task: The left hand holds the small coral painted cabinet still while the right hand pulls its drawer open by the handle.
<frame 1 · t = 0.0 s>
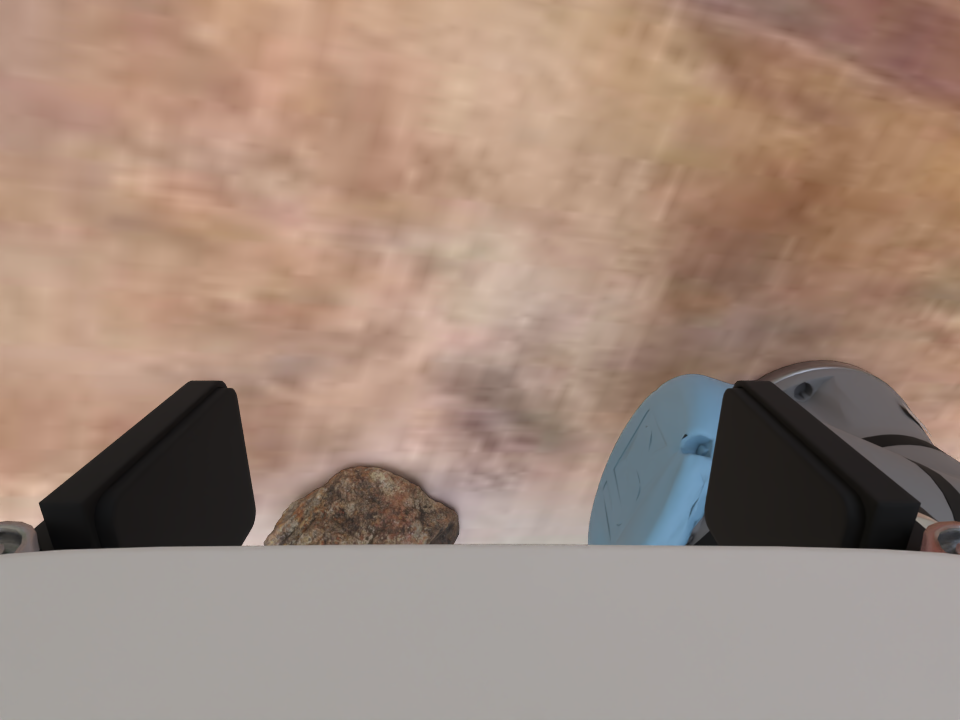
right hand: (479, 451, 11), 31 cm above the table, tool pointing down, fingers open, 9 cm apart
rock: (375, 513, 49), on the table
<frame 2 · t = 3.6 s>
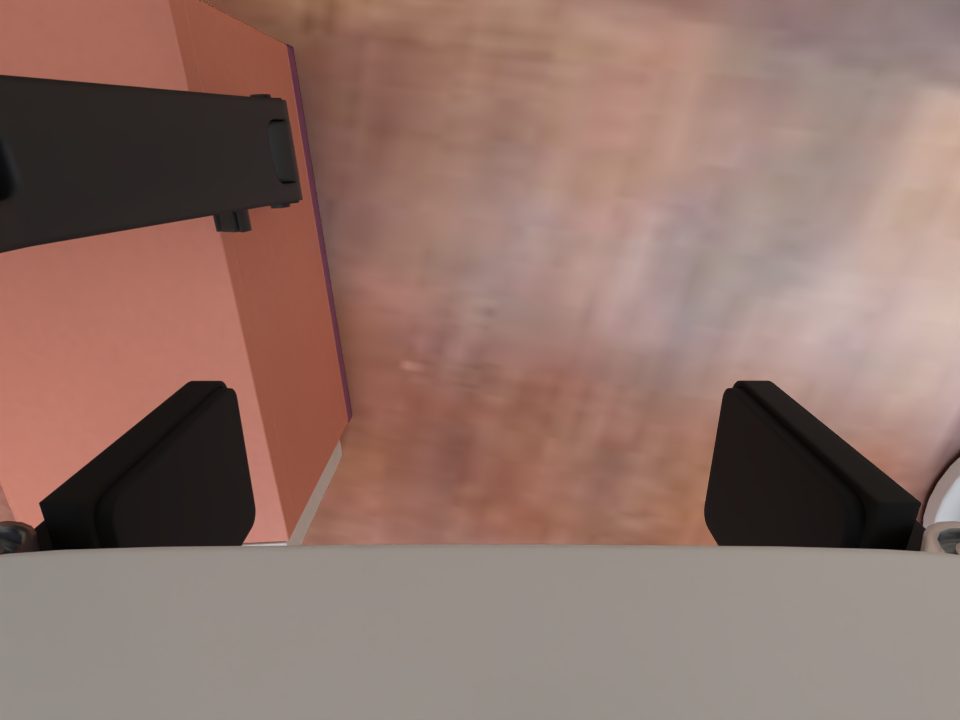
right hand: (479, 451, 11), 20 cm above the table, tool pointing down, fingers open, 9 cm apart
drawer: (201, 402, 26), point 6 cm above the table, slide at 0.8 cm
cabinet: (225, 258, 29), on the table, touching left hand
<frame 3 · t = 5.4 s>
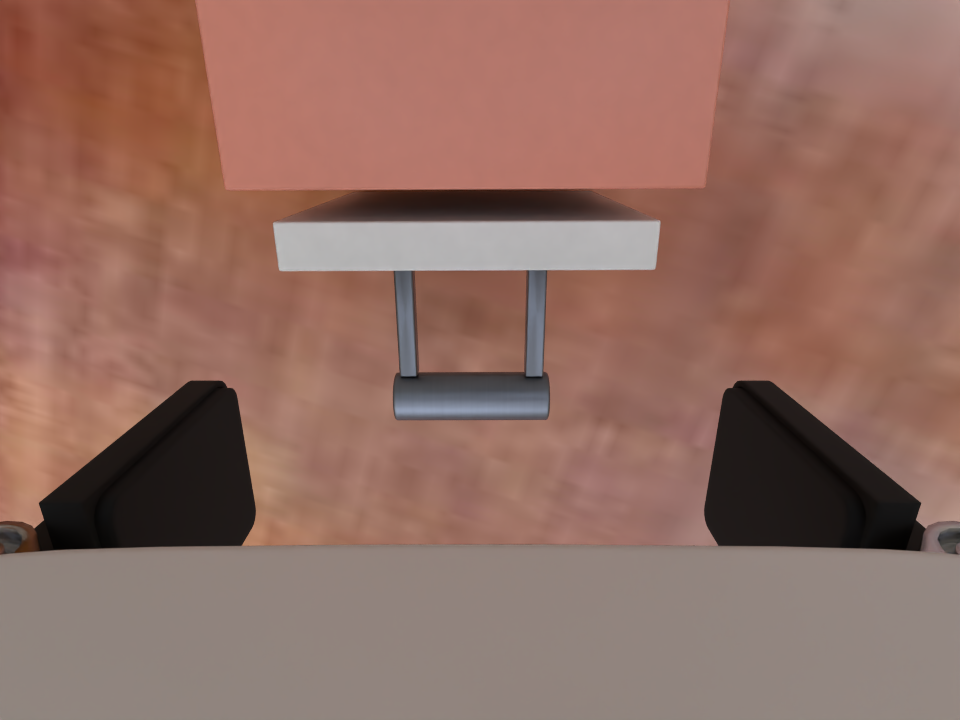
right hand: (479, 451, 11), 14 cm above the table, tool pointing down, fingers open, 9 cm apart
drawer: (468, 37, 16), point 6 cm above the table, slide at 0.8 cm
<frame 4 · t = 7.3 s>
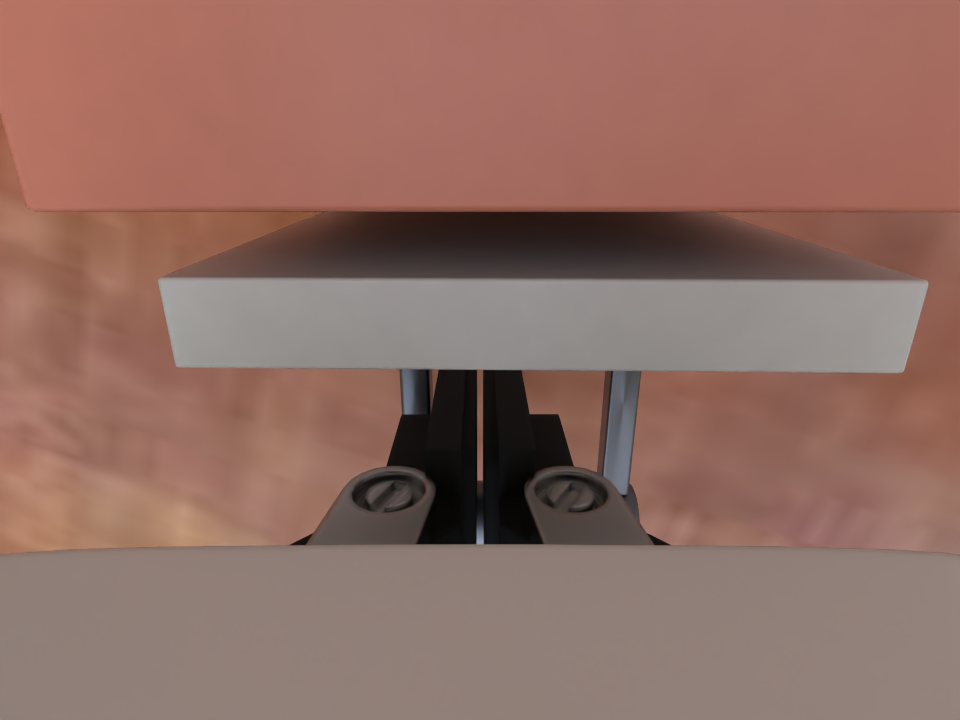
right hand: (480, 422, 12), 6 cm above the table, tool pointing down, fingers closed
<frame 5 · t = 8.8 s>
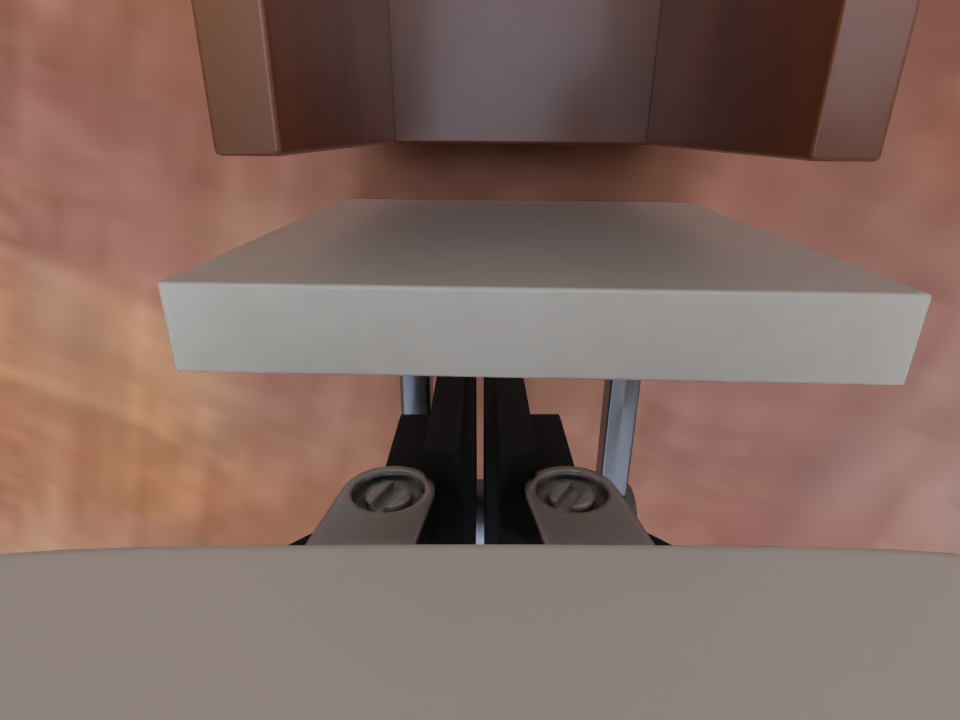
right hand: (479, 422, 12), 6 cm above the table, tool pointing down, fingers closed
when the left hand's fingers open (6 cm above the table, at t = 10.4 s): cabinet stays where it is, on the table.
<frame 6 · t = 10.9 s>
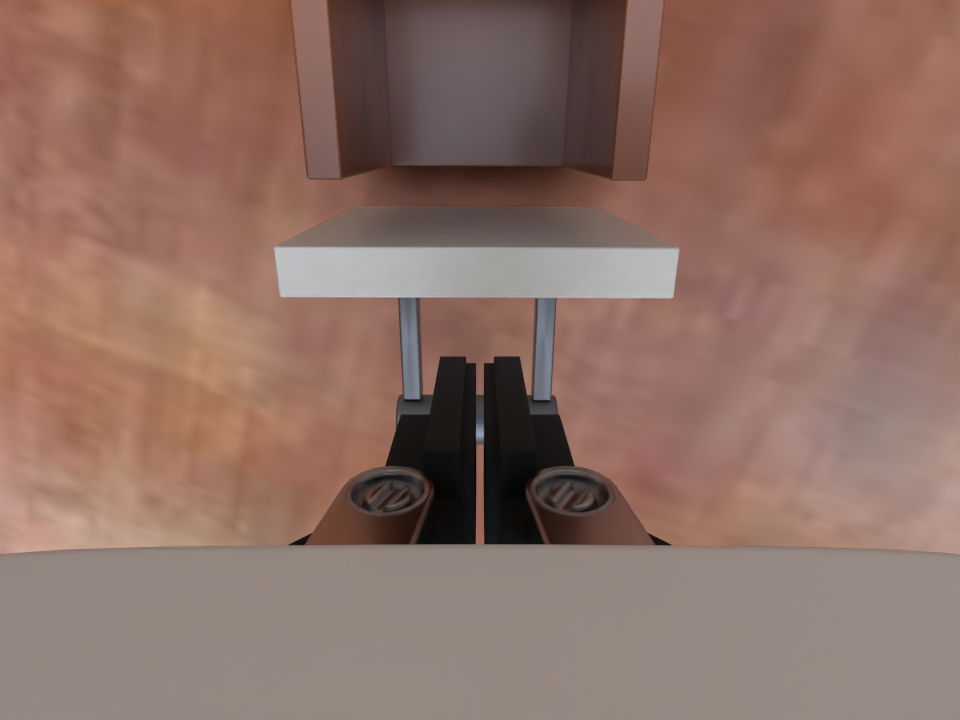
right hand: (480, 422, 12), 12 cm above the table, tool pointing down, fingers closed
drawer: (477, 51, 16), point 6 cm above the table, slide at 7.9 cm
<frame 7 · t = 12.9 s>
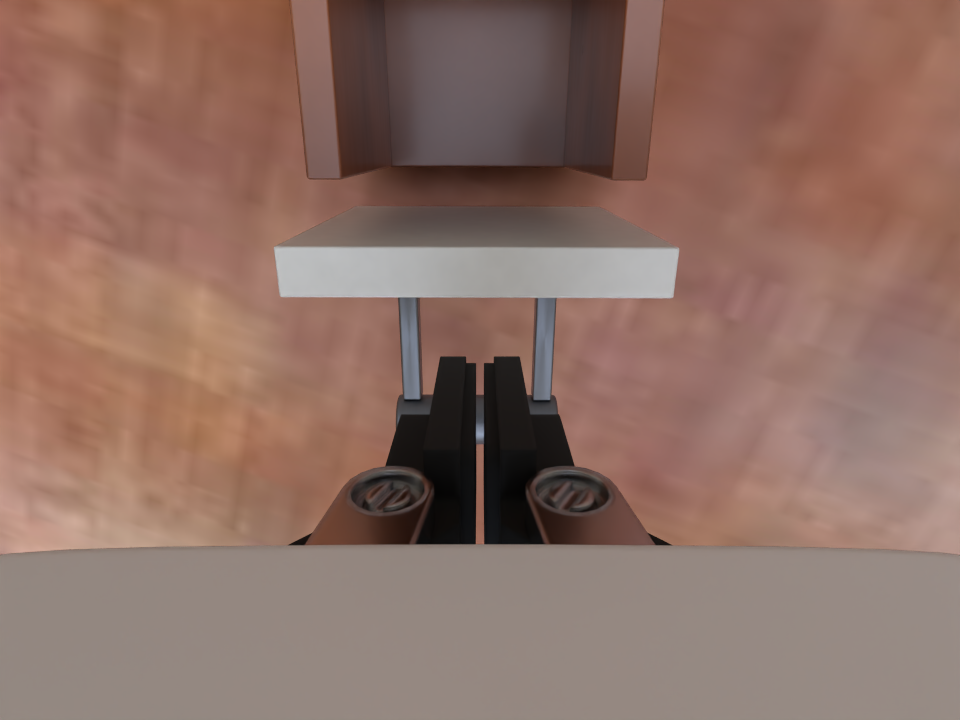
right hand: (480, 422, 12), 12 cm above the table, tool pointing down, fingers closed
drawer: (477, 51, 16), point 6 cm above the table, slide at 7.9 cm
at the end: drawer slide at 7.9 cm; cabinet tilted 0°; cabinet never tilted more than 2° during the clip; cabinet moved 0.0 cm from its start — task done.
